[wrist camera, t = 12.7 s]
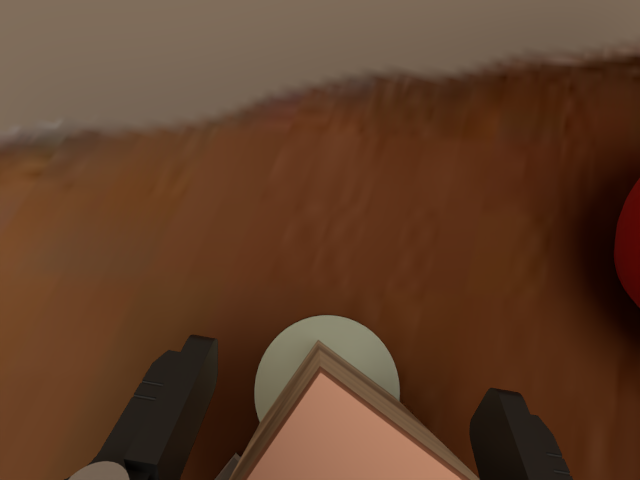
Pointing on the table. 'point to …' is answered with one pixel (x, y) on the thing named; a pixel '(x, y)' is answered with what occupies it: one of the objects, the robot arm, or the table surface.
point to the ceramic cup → (629, 245)
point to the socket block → (229, 468)
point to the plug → (343, 431)
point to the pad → (335, 334)
